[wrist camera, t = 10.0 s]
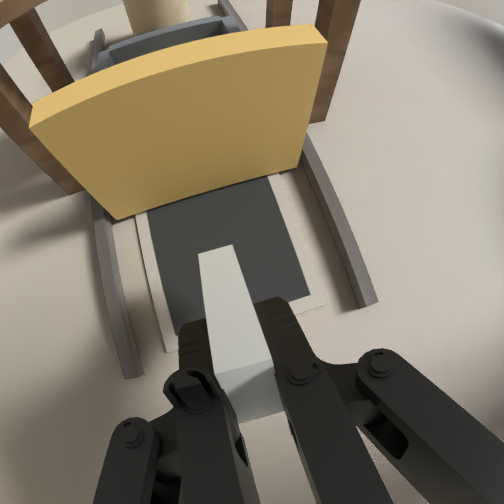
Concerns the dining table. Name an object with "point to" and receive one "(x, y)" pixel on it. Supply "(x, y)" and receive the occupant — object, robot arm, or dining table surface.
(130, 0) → the candle
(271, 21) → the wooden stand with rails
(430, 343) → the dining table surface
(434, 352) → the dining table surface
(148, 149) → the yellow panel grey frame
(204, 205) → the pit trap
